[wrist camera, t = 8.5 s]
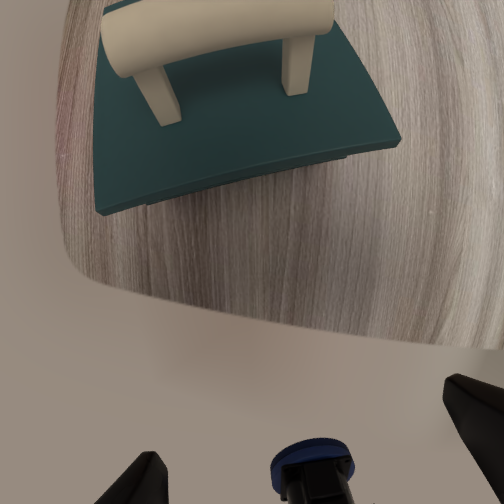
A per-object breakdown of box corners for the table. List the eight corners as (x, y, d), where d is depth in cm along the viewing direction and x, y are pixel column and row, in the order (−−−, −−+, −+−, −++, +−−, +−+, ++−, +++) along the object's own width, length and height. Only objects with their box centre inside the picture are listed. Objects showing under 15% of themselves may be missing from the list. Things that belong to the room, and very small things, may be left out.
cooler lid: (396, 147, 9) (465, 43, 4) (103, 217, 9) (-3, 147, 4) (292, -28, 12) (293, -103, 7) (107, 15, 12) (73, -54, 7)
